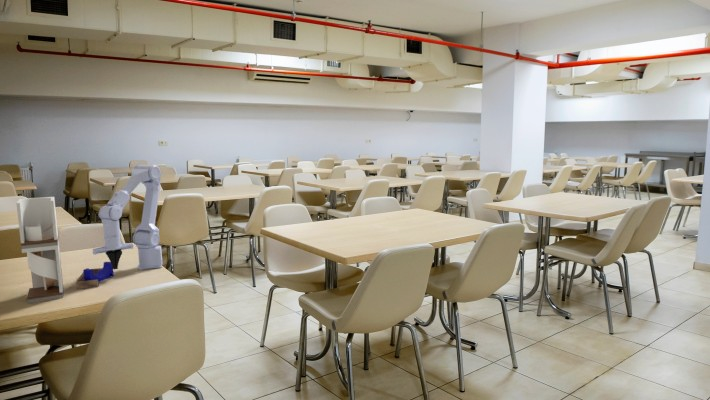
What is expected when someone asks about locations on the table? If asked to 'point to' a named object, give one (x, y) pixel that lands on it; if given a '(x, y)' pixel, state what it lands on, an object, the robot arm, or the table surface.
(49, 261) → the display case
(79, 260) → the table surface
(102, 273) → the cable clip
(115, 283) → the table surface
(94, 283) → the frame
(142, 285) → the table surface
